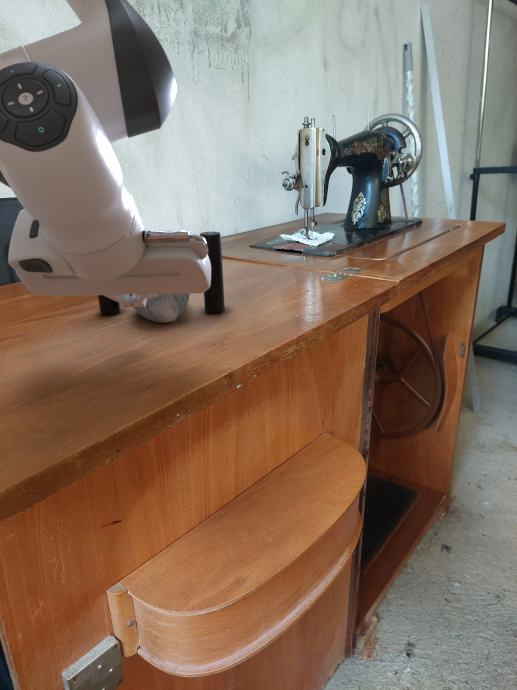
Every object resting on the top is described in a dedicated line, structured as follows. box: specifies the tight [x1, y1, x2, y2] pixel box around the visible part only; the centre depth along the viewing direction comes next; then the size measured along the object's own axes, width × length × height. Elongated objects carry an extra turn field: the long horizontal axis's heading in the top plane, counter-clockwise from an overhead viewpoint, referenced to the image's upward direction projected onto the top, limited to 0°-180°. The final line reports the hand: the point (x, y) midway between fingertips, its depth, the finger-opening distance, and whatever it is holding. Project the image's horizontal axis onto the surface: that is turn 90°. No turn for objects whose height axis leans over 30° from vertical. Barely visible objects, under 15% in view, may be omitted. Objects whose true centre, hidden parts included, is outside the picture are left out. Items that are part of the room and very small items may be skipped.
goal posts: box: [97, 231, 226, 317], centre depth 77 cm, size 19×3×12 cm, turn 88°
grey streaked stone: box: [133, 293, 191, 324], centre depth 77 cm, size 14×10×10 cm
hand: (134, 302), depth 63 cm, fingers closed
